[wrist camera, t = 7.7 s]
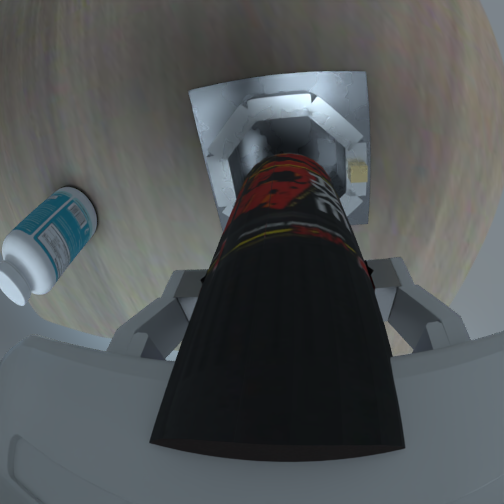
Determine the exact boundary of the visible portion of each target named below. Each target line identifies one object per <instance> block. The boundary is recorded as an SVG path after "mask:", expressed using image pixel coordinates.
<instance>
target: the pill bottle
mask: <svg viewBox="0 0 504 504" xmlns="http://www.w3.org/2000/svg"><path fill="white" fill-rule="evenodd" d="M96 227H97V217H96V213H95V210H94V207H93V205H92V204H91V202H90V201H89V199H88V198H87V197H86V196H85V195H84V194H83V193H82V192H80V191H79V190H77V189H75V188H72V187H63V188H60V189H59V190H57V191H56V192H55V193H53V194H52V195H51V196H50V197H48V198H47V199H46V200H45V201H44V202H43V203H41V204H40V205H39V206H38V207H37V208H36V209H35V210H33V211H32V212H31V213H30V214H29V215H28V216H27V217H26V218H25V219H24V220H23V221H21V222H20V223H19V224H18V225H17V226H16V227H15V228H14V229H13V230H12V231H11V232H10V233H9V234H8V235H7V236H6V238H5V240H4V242H3V246H2V254H3V259H4V260H3V261H1V262H0V288H1V290H2V291H3V292H4V293H5V294H6V295H7V297H9V298H10V299H11V300H12V301H13V302H15V303H16V304H18V305H21V306H23V305H25V303H26V302H27V301H28V299H29V298H30V295H31V293H34V294H45V293H47V292H49V291H50V290H51V289H52V287H53V286H54V285H55V283H56V282H57V281H58V279H59V278H60V276H61V275H62V274H63V272H64V271H65V270H66V268H67V267H68V266H69V264H70V263H71V262H72V261H73V259H74V258H75V257H76V255H77V254H78V253H79V252H80V250H81V249H82V248H83V247H84V246H85V244H86V243H87V242H88V241H89V239H90V238H91V237H92V236H93V234H94V233H95V230H96Z"/></svg>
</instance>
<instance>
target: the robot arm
mask: <svg viewBox="0 0 504 504" xmlns="http://www.w3.org/2000/svg"><path fill="white" fill-rule="evenodd" d="M364 262H365V265H366V268H367V271H368V274H369V277H370V280H371V283H372V286H373V289H374V292H375V295H376V298H377V302H378V305H379V308H380V311H381V315H382V318H383V321H388V322H389V323H390V324H391V326H392V327H393V328H394V329H395V330H396V331H397V332H398V333H399V334H400V335H401V336H402V337H403V338H404V340H405V341H406V342H407V343H408V344H409V345H410V346H411V347H412V348H413V349H414V351H413V352H412V354H407V355H401V356H394V357H391V358H390V360H391V366H392V372H393V378H394V383H395V388H396V392H397V397H398V403H399V408H400V414H401V420H402V426H403V433H404V440H405V449H401V450H396V451H392V452H387V453H382V454H376V455H370V456H364V457H357V458H349V459H339V460H328V461H310V462H268V461H250V460H239V459H229V458H221V457H214V456H207V455H201V454H195V453H190V452H185V451H180V450H175V449H171V448H167V447H163V446H159V445H155V444H151V443H149V441H150V437H151V434H152V431H153V428H154V424H155V421H156V418H157V415H158V412H159V409H160V406H161V402H162V399H163V396H164V393H165V390H166V387H167V384H168V381H169V378H170V375H171V372H172V369H173V366H174V363H175V361H166V360H165V358H166V357H167V356H168V355H169V354H170V353H171V352H172V351H173V350H174V349H175V347H176V346H177V345H178V344H179V343H180V342H181V341H182V340H183V338H184V335H185V332H186V329H187V326H188V324H189V321H190V318H191V315H192V313H193V310H194V307H195V304H196V302H197V299H198V296H199V294H200V291H201V288H202V286H203V283H204V280H205V278H206V275H207V272H208V270H209V269H200V270H175V271H174V272H173V273H172V275H171V277H170V280H169V282H168V284H167V286H166V288H165V290H164V292H163V294H162V297H161V298H157V299H156V300H154V301H153V302H152V303H150V304H149V305H148V306H146V307H145V308H144V309H142V310H141V311H140V312H139V313H137V314H136V315H135V316H133V317H132V318H131V319H129V320H128V321H127V322H126V323H124V324H123V325H122V326H120V327H119V328H118V329H117V330H116V332H115V334H114V336H113V338H112V340H111V342H110V345H109V347H108V349H107V351H101V350H96V349H91V348H86V347H81V346H77V345H73V344H69V343H65V342H61V341H57V340H53V339H49V338H46V337H42V336H39V335H35V334H32V335H29V336H27V337H26V338H24V339H23V340H21V341H20V342H19V343H17V344H16V345H15V346H13V347H12V348H11V349H10V350H9V351H8V352H7V353H6V354H5V355H4V357H3V358H2V359H1V361H0V504H504V331H502V332H499V333H495V334H492V335H489V336H486V337H482V338H478V339H475V340H471V339H470V337H469V335H468V332H467V330H466V327H465V325H464V323H463V321H462V318H461V316H460V315H458V314H457V313H456V312H455V311H453V310H452V309H451V308H449V307H448V306H447V305H445V304H444V303H443V302H441V301H440V300H438V299H437V298H436V297H434V296H433V295H432V294H430V293H429V292H427V291H426V290H425V289H423V288H422V287H420V286H419V285H414V282H413V280H412V278H411V276H410V274H409V272H408V269H407V267H406V265H405V263H404V261H403V259H402V258H401V257H394V258H387V259H374V260H364Z"/></svg>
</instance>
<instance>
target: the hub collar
mask: <svg viewBox="0 0 504 504" xmlns="http://www.w3.org/2000/svg"><path fill="white" fill-rule="evenodd" d="M189 96H190V100H191V104H192V109H193V113H194V117H195V122H196V126H197V130H198V134H199V139H200V143H201V147H202V151H203V155H204V159H205V163H206V167H207V171H208V175H209V179H210V183H211V187H212V191H213V195H214V199H215V203H216V207H217V211H218V215H219V219H220V222H221V226H222V230H223V232H224V229H225V227H226V224H227V222H228V219H229V217H230V214H231V212H232V209H233V207H234V204H235V202H236V200H237V197H238V195H239V192H240V190H241V188H242V185H243V183H244V180H245V178H246V176H247V174H248V173H249V172H250V170H251V169H252V168H253V167H254V165H256V164H257V163H259V162H260V161H261V160H263V159H264V158H267V157H269V156H272V155H275V154H280V153H294V154H300V155H303V156H306V157H308V158H310V159H312V160H314V161H315V162H317V163H318V164H319V165H320V166H321V167H323V168H324V170H325V171H326V173H327V174H328V176H329V177H330V179H331V181H332V183H333V186H334V188H335V190H336V192H337V195H338V197H339V199H340V201H341V204H342V206H343V209H344V211H345V213H346V216H347V218H348V221H349V223H350V225H357V224H368V214H369V196H370V119H369V102H368V89H367V79H366V72H360V71H321V72H301V73H288V74H278V75H269V76H261V77H254V78H248V79H241V80H236V81H230V82H225V83H220V84H215V85H210V86H206V87H202V88H197V89H193V90H189Z"/></svg>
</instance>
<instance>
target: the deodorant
mask: <svg viewBox="0 0 504 504" xmlns="http://www.w3.org/2000/svg"><path fill="white" fill-rule="evenodd" d="M391 357H393V356H392V352H391V348H390V344H389V340H388V336H387V333H386V329H385V325H384V322H383V318H382V315H381V311H380V308H379V305H378V302H377V298H376V295H375V292H374V289H373V286H372V283H371V280H370V277H369V274H368V271H367V268H366V265H365V262H364V260H363V257H362V254H361V251H360V249H359V246H358V243H357V241H356V238H355V236H354V233H353V231H352V228H351V225H350V223H349V221H348V218H347V216H346V213H345V211H344V209H343V206H342V204H341V201H340V199H339V197H338V195H337V192H336V190H335V188H334V186H333V183H332V181H331V179H330V177H329V176H328V174H327V173H326V171H325V170H324V168H323V167H321V166H320V165H319V164H318V163H317V162H315V161H314V160H312V159H310V158H308V157H306V156H303V155H300V154H294V153H280V154H275V155H272V156H269V157H267V158H264V159H263V160H261V161H260V162H259V163H257V164H256V165H254V167H253V168H252V169H251V170H250V172H249V173H248V174H247V176H246V178H245V180H244V183H243V185H242V188H241V190H240V192H239V195H238V197H237V200H236V202H235V204H234V207H233V209H232V212H231V214H230V217H229V219H228V222H227V224H226V227H225V229H224V232H223V234H222V237H221V239H220V242H219V244H218V247H217V249H216V252H215V254H214V257H213V260H212V262H211V265H210V267H209V270H208V272H207V275H206V278H205V280H204V283H203V286H202V288H201V291H200V294H199V296H198V299H197V302H196V304H195V307H194V310H193V313H192V315H191V318H190V321H189V324H188V326H187V329H186V332H185V335H184V338H183V340H182V343H181V346H180V349H179V352H178V355H177V358H176V361H175V363H174V366H173V369H172V372H171V375H170V378H169V381H168V384H167V387H166V390H165V393H164V396H163V399H162V402H161V406H160V409H159V412H158V415H157V418H156V421H155V424H154V428H153V431H152V434H151V437H150V441H149V443H151V444H155V445H159V446H163V447H167V448H171V449H175V450H180V451H185V452H190V453H195V454H201V455H207V456H214V457H221V458H229V459H239V460H250V461H268V462H310V461H328V460H339V459H349V458H357V457H364V456H370V455H376V454H382V453H387V452H392V451H396V450H401V449H405V440H404V433H403V426H402V420H401V414H400V408H399V403H398V397H397V392H396V388H395V383H394V378H393V372H392V366H391V360H390V358H391Z"/></svg>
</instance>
